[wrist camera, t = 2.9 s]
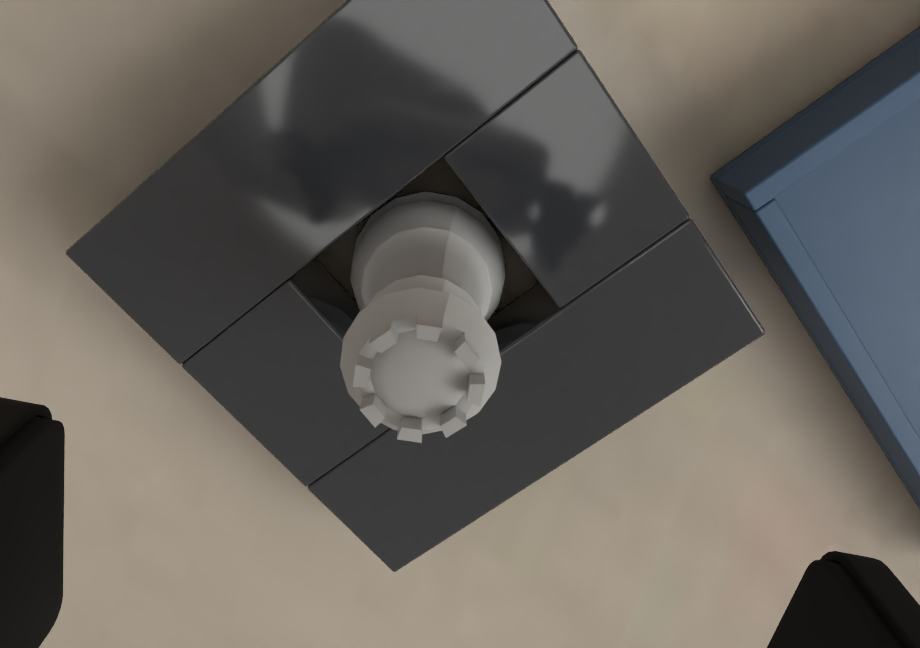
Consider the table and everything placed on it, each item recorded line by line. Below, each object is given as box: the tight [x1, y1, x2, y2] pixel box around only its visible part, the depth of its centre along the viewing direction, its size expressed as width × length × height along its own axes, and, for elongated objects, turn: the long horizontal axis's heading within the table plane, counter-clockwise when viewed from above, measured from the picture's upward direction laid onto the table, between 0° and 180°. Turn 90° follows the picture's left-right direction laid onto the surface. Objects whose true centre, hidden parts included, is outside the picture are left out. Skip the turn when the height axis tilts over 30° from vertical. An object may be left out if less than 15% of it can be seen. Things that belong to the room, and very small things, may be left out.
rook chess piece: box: [340, 192, 505, 443], centre depth 17 cm, size 4×4×8 cm
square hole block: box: [66, 0, 765, 572], centre depth 19 cm, size 13×13×3 cm
